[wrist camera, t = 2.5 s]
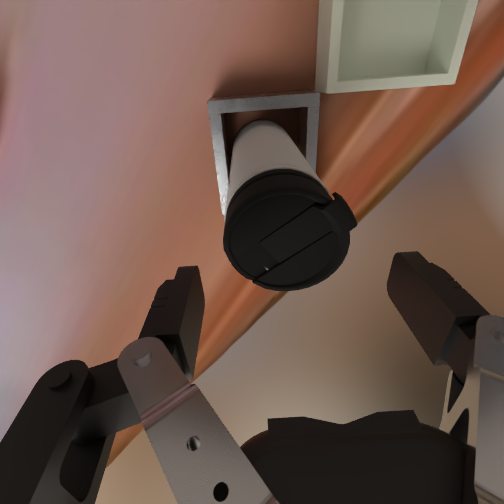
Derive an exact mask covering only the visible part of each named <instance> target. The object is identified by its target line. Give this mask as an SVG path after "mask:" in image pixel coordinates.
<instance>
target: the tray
mask: <svg viewBox="0 0 504 504" xmlns="http://www.w3.org/2000/svg"><path fill="white" fill-rule="evenodd" d="M477 3H478V0H319V14H318V34H317V55H316V75H315V91H318V92H322V93H325V94H331V93H344V92H357V91H370V90H383V89H396V88H409V87H422V86H436V85H449V84H455V81H456V78H457V74H458V71H459V67H460V63H461V60H462V56H463V53H464V49H465V46H466V42H467V39H468V35H469V32H470V28H471V25H472V21H473V18H474V14H475V10H476V7H477Z"/></svg>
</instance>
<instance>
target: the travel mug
mask: <svg viewBox="0 0 504 504" xmlns="http://www.w3.org/2000/svg"><path fill="white" fill-rule="evenodd" d="M332 195H333V196H334V198H335V200H333V199H332V198H331V196H330V194H329V192H328V191H327V189H326V187H325V186H324V185H323V183H322V182H321V180H320V179H319V177H318V176H317V175H316V173H315V172H314V170H313V169H312V167H311V166H310V165H309V163H308V162H307V160H306V159H305V158H304V156H303V155H302V153H301V152H300V151H299V149H298V148H297V146H296V145H295V144H294V142H293V141H292V139H291V138H290V137H289V135H288V134H287V132H286V131H285V130H284V129H283V128H282V127H281V126H280V125H278V124H277V123H275V122H273V121H269V120H257V121H253V122H251V123H249V124H247V125H246V126H244V127H243V128H242V129H241V130H240V131H239V133H238V134H237V136H236V138H235V141H234V145H233V152H232V160H231V168H230V177H229V185H228V193H227V201H226V210H225V227H224V236H223V246H224V251H225V253H226V255H227V257H228V259H229V261H230V262H231V264H232V266H233V267H234V268H235V269H236V270H237V271H238V272H239V273H240V274H241V275H243V276H244V277H245V278H247V279H250V280H253V283H254V284H256V285H258V286H261V287H263V288H265V289H269V290H275V291H292V290H300V289H304V288H308V287H311V286H313V285H316V284H318V283H320V282H322V281H323V280H325V279H327V278H328V277H329V276H330V275H331V274H333V273H334V272H335V271H336V270H337V269H338V268H339V266H340V265H341V264H342V263H343V261H344V259H345V257H346V255H347V252H348V248H349V244H350V233H349V231H350V230H352V229H353V228H355V227H356V226H357V222H356V219H355V217H354V215H353V212H352V211H351V209H350V207H349V206H348V204H347V203H346V202H345V200H344V199H343V198H342V196H341V195H339V194H338V193H336V192H335V193H333V194H332Z"/></svg>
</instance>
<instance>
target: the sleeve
mask: <svg viewBox="0 0 504 504" xmlns="http://www.w3.org/2000/svg"><path fill="white" fill-rule="evenodd" d="M207 104H208V111H209V119H210V126H211V133H212V141H213V148H214V156H215V163H216V170H217V178H218V185H219V193H220V200H221V208H222V215H225V210H226V201H227V193H228V185H229V177H230V167H229V158H228V149H227V140H226V131H225V122H224V113H231V112H244V111H257V110H270V109H283V108H296V107H300V121H299V151H300V152H301V153H302V155H303V156H304V158H305V159H306V160H307V162H308V163H309V165H310V166H311V167H312V169H313V170H314V172H315V173H316V157H317V140H318V123H319V107H320V92H317V91H313V90H300V91H287V92H274V93H261V94H248V95H235V96H222V97H211V98H210V99H209V100H208V101H207Z"/></svg>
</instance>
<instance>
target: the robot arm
mask: <svg viewBox="0 0 504 504" xmlns="http://www.w3.org/2000/svg"><path fill="white" fill-rule="evenodd" d="M387 291H388V295H389V297H390V299H391V300H392V302H393V304H394V305H395V307H396V308H397V310H398V311H399V313H400V314H401V316H402V317H403V319H404V320H405V322H406V323H407V325H408V326H409V328H410V330H411V331H412V332H413V334H414V336H415V337H416V339H417V340H418V342H419V343H420V345H421V346H422V348H423V349H424V351H425V352H426V354H427V355H428V357H429V359H430V360H431V362H432V363H433V365H449V366H450V367H451V369H452V370H451V372H450V374H449V378H448V384H447V391H446V398H445V404H444V411H443V417H442V422H441V425H440V428H439V429H438V428H436V427H433V426H430V425H427V424H424V423H420V422H419V420H418V418H417V416H416V414H415V413H414V411H413V410H404V411H387V412H376V413H374V414H371V415H368V416H365V417H363V418H360V419H357V420H355V421H352V422H350V423H347V424H336V423H332V422H327V421H322V420H317V419H312V418H307V417H288V418H272V419H268V430H266V431H264V432H261V433H259V434H257V435H256V436H253V437H252V438H251V439H249V440H248V441H246V442H245V443H244V444H243V445H242V446H241V447H239V446H238V444H237V443H236V441H235V440H234V438H233V437H232V435H231V434H230V433H229V431H228V430H227V428H226V427H225V426H224V424H223V423H222V421H221V420H220V418H219V417H218V415H217V414H216V412H215V411H214V409H213V408H212V407H211V405H210V404H209V402H208V401H207V399H206V398H205V396H204V395H203V394H202V392H201V391H200V389H199V388H198V387H197V386H196V385H195V384H191V383H190V382H189V380H192V379H193V375H194V369H195V363H196V357H197V351H198V345H199V339H200V333H201V327H202V320H203V314H204V308H205V299H204V292H203V287H202V282H201V277H200V272H199V268H198V266H184V267H178V270H177V273H176V275H175V278H174V279H173V280H166V281H165V282H164V283H163V284H162V285H161V286H160V287H159V288H158V290H157V292H156V295H155V297H154V300H153V302H152V305H151V308H150V310H149V312H148V315H147V318H146V320H145V323H144V325H143V328H142V330H141V333H140V335H139V338H138V339H137V340H135V341H133V342H132V343H130V344H129V345H128V346H126V347H125V348H124V349H123V351H122V352H121V354H120V355H119V358H117V359H115V360H112V361H109V362H106V363H103V364H100V365H97V366H94V367H91V368H88V367H87V365H86V364H85V363H84V362H83V361H80V360H70V361H66V362H63V363H60V364H58V365H56V366H54V367H53V368H51V369H50V370H48V371H47V372H46V373H45V374H44V375H43V376H42V377H41V378H40V379H39V380H38V382H37V383H36V385H35V386H34V388H33V390H32V391H31V393H30V395H29V396H28V398H27V399H26V401H25V403H24V404H23V406H22V408H21V409H20V411H19V413H18V414H17V416H16V418H15V419H14V421H13V423H12V424H11V426H10V428H9V429H8V431H7V433H6V434H5V436H4V437H3V439H2V441H1V442H0V504H95V501H96V498H97V494H98V491H99V488H100V484H101V481H102V478H103V474H104V471H105V468H106V464H107V461H108V458H109V454H110V451H111V447H112V444H113V441H114V437H115V434H116V432H118V431H121V430H123V429H126V428H128V427H131V426H133V425H136V424H138V423H141V422H142V425H143V427H144V429H145V431H146V434H147V436H148V438H149V440H150V443H151V445H152V447H153V449H154V452H155V454H156V456H157V458H158V461H159V463H160V465H161V467H162V470H163V472H164V474H165V476H166V479H167V481H168V483H169V485H170V488H171V490H172V492H173V494H174V496H175V499H176V501H177V503H178V504H504V317H502V316H497V315H490V314H489V313H488V312H487V311H486V310H485V309H484V308H483V307H482V306H481V305H480V304H479V303H478V302H477V301H476V300H475V299H474V298H473V297H472V296H471V295H470V294H469V293H468V292H467V291H466V290H465V289H462V286H461V285H460V284H459V283H458V282H457V281H454V278H452V277H451V275H450V274H448V273H447V272H446V271H445V270H444V269H442V268H440V267H439V266H437V265H435V264H433V263H429V262H428V261H427V260H426V259H425V258H424V257H423V256H422V255H421V254H420V253H419V252H417V251H416V252H400V253H396V254H395V255H394V258H393V261H392V265H391V269H390V273H389V277H388V281H387Z"/></svg>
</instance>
